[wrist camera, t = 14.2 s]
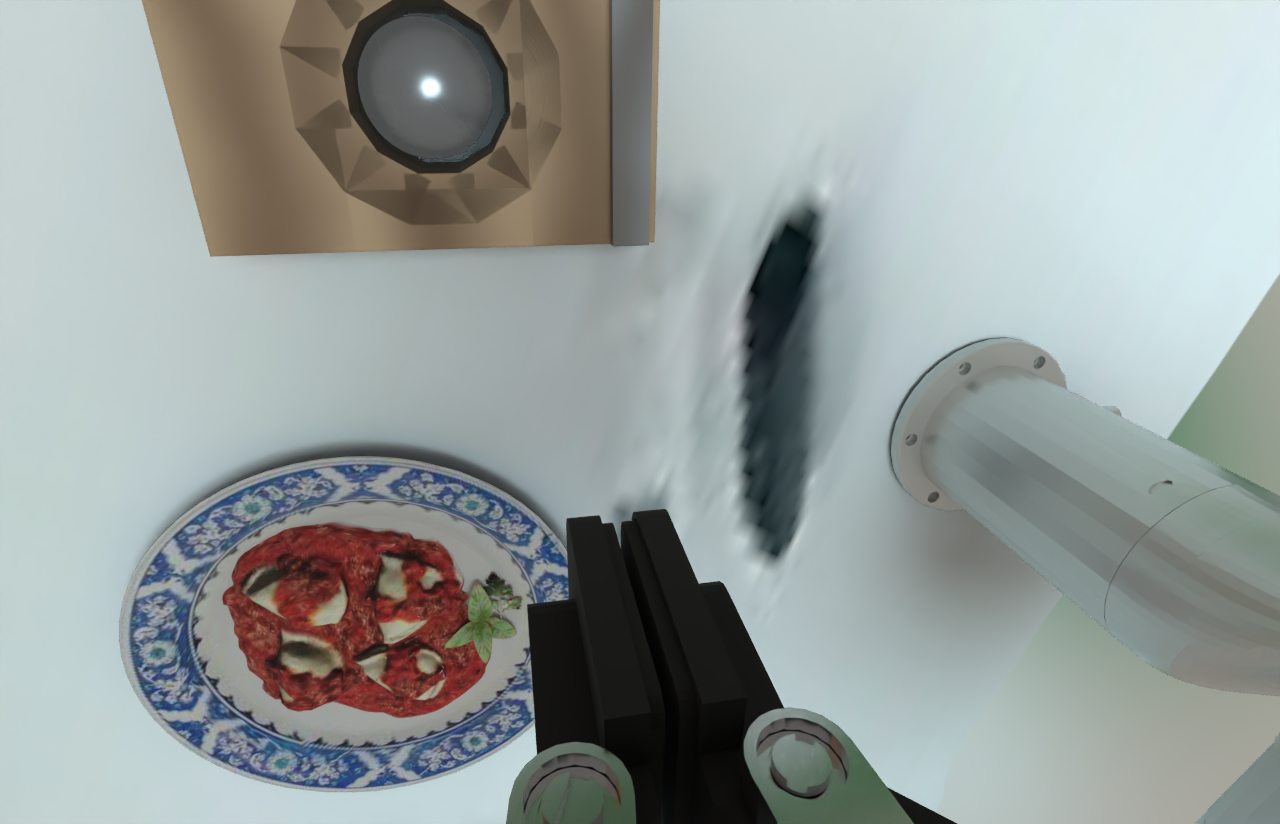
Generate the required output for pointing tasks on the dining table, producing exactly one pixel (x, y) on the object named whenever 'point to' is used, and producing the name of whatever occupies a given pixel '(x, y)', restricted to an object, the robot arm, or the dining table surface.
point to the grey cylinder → (425, 87)
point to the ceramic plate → (343, 623)
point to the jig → (385, 175)
